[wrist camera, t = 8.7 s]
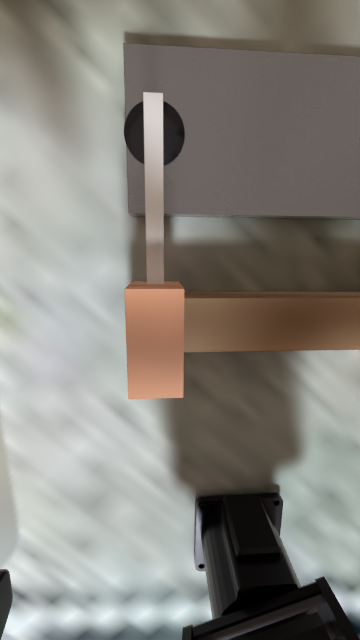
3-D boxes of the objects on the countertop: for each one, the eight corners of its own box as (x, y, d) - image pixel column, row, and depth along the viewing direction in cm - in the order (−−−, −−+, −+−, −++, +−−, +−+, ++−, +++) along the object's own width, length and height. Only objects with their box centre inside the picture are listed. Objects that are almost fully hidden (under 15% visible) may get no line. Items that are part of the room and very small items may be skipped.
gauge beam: (422, 346, 20) (541, 388, 14) (134, 351, 19) (121, 399, 13) (462, 144, 18) (633, 81, 11) (127, 132, 16) (107, 53, 10)
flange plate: (447, 220, 18) (464, 218, 17) (128, 215, 17) (126, 213, 16) (475, 75, 17) (496, 63, 16) (123, 56, 15) (121, 42, 14)
